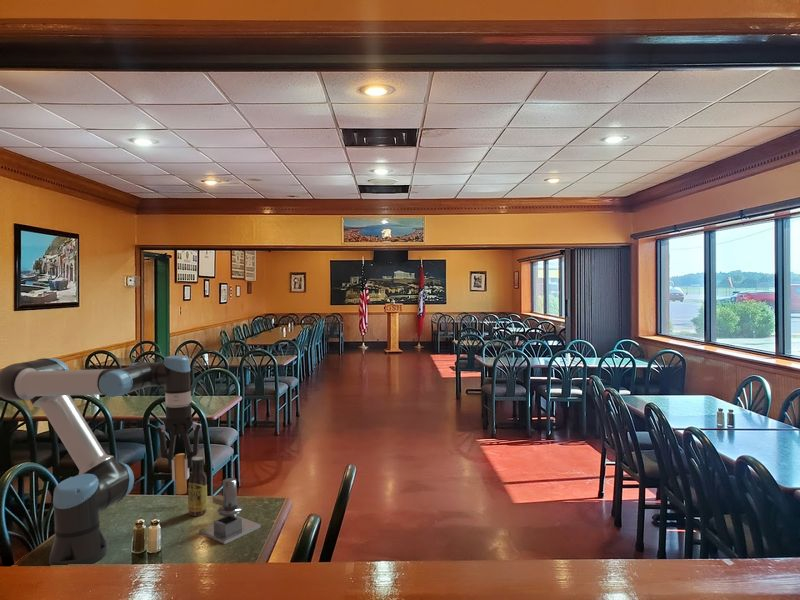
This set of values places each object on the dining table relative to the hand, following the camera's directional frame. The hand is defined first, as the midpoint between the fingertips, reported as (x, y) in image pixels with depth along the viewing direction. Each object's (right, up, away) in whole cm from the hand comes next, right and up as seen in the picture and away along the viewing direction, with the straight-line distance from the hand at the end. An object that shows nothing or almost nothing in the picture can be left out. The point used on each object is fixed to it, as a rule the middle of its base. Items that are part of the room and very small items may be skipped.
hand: (180, 478), depth 173 cm
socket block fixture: (+11, -20, +9) cm, 24 cm away
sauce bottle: (-2, -20, +22) cm, 29 cm away
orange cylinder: (0, -5, 0) cm, 5 cm away
